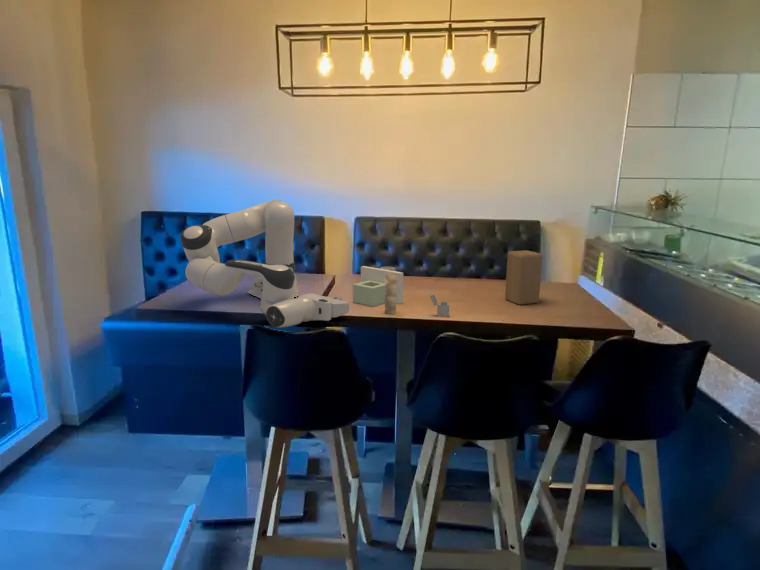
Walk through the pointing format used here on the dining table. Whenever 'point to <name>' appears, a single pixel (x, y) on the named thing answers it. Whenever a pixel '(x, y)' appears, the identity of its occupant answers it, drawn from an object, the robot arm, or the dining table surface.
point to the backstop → (383, 279)
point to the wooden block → (523, 277)
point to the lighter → (440, 306)
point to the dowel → (390, 293)
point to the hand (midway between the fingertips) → (338, 299)
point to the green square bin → (369, 293)
